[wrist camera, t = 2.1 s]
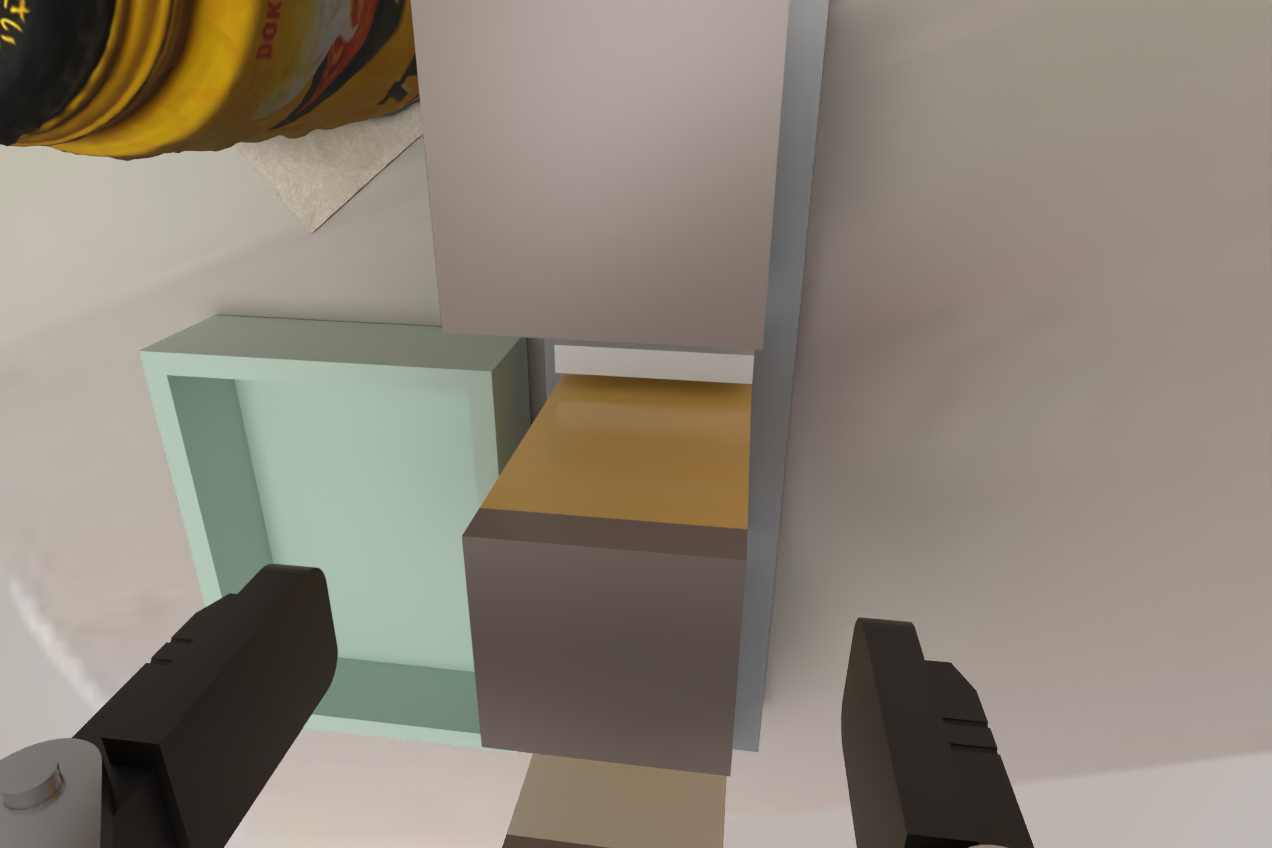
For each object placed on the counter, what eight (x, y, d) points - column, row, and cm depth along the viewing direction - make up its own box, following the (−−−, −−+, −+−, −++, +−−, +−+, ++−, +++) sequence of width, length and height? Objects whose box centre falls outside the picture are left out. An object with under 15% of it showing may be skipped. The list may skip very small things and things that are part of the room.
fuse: (752, 349, 19) (746, 560, 11) (741, 498, 20) (730, 775, 13) (584, 340, 19) (461, 535, 11) (587, 487, 21) (482, 747, 13)
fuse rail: (828, -62, 17) (918, -223, 7) (758, 703, 26) (756, 1096, 16) (550, -58, 18) (295, -202, 8) (573, 683, 26) (464, 1048, 17)
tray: (526, 331, 22) (491, 371, 19) (543, 680, 27) (518, 753, 24) (215, 315, 23) (138, 350, 20) (288, 653, 28) (234, 719, 25)
